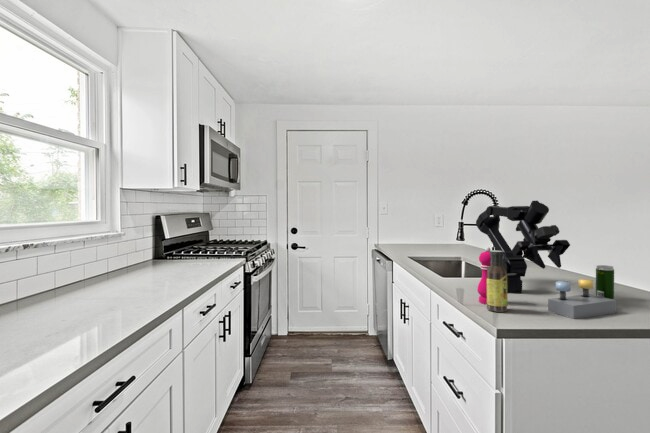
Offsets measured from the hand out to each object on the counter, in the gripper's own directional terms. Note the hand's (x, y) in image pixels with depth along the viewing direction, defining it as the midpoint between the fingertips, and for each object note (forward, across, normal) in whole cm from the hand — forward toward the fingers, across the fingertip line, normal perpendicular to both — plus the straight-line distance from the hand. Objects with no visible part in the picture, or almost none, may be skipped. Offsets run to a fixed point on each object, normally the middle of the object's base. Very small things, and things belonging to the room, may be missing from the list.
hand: (552, 267), depth 128 cm
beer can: (+5, +25, +14) cm, 29 cm away
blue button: (+10, 0, +3) cm, 11 cm away
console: (+14, +5, +5) cm, 16 cm away
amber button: (+9, +10, +5) cm, 14 cm away
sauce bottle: (+10, -20, +10) cm, 24 cm away
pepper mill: (+3, -17, +17) cm, 24 cm away
